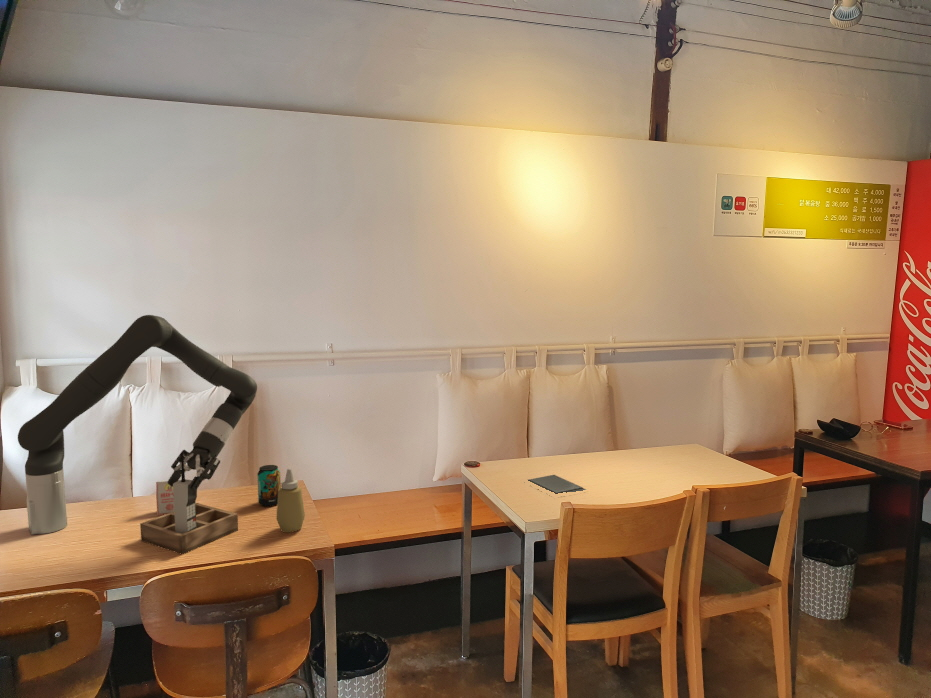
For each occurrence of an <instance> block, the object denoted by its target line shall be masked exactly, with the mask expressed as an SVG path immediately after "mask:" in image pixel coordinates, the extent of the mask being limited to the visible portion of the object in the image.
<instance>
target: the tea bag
mask: <svg viewBox="0 0 931 698" xmlns="http://www.w3.org/2000/svg"><path fill="white" fill-rule="evenodd" d="M180 480H181V479H179V480H178V481H180ZM167 482H168V480H164V481H163V480H162V481H156V482H155V483H156V485H155V486H156V489H155V490H156V492H155V493H156V515H157V516H162V514H164V515H165V514H168V513H171V512H174V495H173V487H172V486H170V485H169V484H168V483H167Z"/></svg>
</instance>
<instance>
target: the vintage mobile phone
mask: <svg viewBox="0 0 931 698" xmlns="http://www.w3.org/2000/svg"><path fill="white" fill-rule="evenodd" d="M180 453H181V477H180V479H179V480H180V481H177V482H175V483H174V484H173V495H174V514H175V532H178V533H181V534H184V533H186V532H189V531H191V530H194V529H196V528H197V522H196V503H197V502H196V501H197V497H198V489H197V490H196V491H195V492H191V491H190V490H188V486H189V485H190V483H191V482H192V480H193V479H186V476H185V475H186V474H185V473H186V472H185V470H184V460H183V452H182V451H181V452H180Z"/></svg>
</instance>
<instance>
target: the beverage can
mask: <svg viewBox="0 0 931 698" xmlns="http://www.w3.org/2000/svg"><path fill="white" fill-rule="evenodd" d="M258 469H259V470H258V472H257V475H256V476H257V495H258V497H257V502H258V504H259V505H260V506H261V505H262V506H261V507H265V506H269V507H273V506H272V505H275V506H277V505H276V504H277V503H278V491H279V490H280V489H281V488H282V487H281V471H280V470H279V467H278V465H275V464H265V465H262V466H259V467H258Z"/></svg>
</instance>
